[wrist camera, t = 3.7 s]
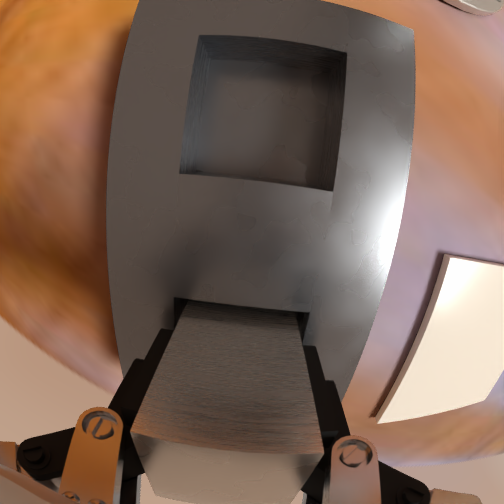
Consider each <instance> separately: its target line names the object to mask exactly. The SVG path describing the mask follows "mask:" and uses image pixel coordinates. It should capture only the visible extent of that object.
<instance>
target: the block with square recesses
mask: <svg viewBox="0 0 504 504" xmlns="http://www.w3.org/2000/svg"><path fill="white" fill-rule="evenodd" d="M414 112H415V45H414V31H413V30H412V29H410V28H407V27H405V26H403V25H400V24H398V23H395V22H392V21H390V20H387V19H384V18H381V17H379V16H376V15H373V14H370V13H366V12H363V11H360V10H357V9H353V8H349V7H346V6H342V5H338V4H334V3H330V2H325V1H321V0H139V3H138V6H137V9H136V12H135V15H134V19H133V22H132V25H131V29H130V33H129V36H128V40H127V44H126V48H125V52H124V56H123V61H122V65H121V70H120V75H119V80H118V86H117V91H116V97H115V104H114V110H113V118H112V125H111V134H110V144H109V155H108V170H107V193H106V237H107V260H108V275H109V287H110V297H111V306H112V314H113V322H114V329H115V335H116V341H117V347H118V353H119V358H120V363H121V368H122V373H123V378H124V377H125V375H126V373H127V372H128V370H129V368H130V366H131V364H132V363H133V361H134V360H135V359H136V358H139V359H143V360H144V359H145V357H146V355H147V353H148V351H149V349H150V347H151V345H152V344H153V342H154V340H155V338H156V336H157V334H158V332H159V331H160V329H161V328H163V329H169V330H175V328H176V326H177V324H178V321H179V319H180V317H181V315H182V313H183V311H184V309H185V307H186V304H187V302H188V300H189V299H192V300H200V301H207V302H215V303H223V304H231V305H239V306H248V307H257V308H267V309H277V310H288V311H295V315H296V320H297V324H298V328H299V333H300V337H301V342H302V345H312V346H316V348H317V352H318V355H319V359H320V362H321V366H322V370H323V373H324V377H325V380H333V381H334V382H335V385H336V388H337V391H338V394H339V398H340V401H341V402H342V399H343V397H344V395H345V393H346V391H347V388H348V386H349V384H350V382H351V379H352V377H353V374H354V372H355V370H356V367H357V365H358V362H359V360H360V357H361V355H362V352H363V349H364V347H365V344H366V341H367V339H368V336H369V333H370V330H371V327H372V324H373V322H374V319H375V316H376V313H377V309H378V306H379V303H380V300H381V297H382V293H383V290H384V287H385V283H386V279H387V276H388V272H389V268H390V265H391V261H392V257H393V253H394V249H395V244H396V240H397V236H398V231H399V226H400V221H401V216H402V211H403V206H404V200H405V194H406V188H407V182H408V175H409V167H410V159H411V150H412V140H413V128H414Z"/></svg>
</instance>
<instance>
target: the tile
mask: <svg viewBox="0 0 504 504" xmlns="http://www.w3.org/2000/svg"><path fill="white" fill-rule="evenodd" d="M503 370H504V264H499V263H493V262H488V261H482V260H477V259H471V258H465V257H459V256H454V255H448V254H444V257H443V261H442V264H441V268H440V271H439V275H438V278H437V281H436V284H435V287H434V290H433V293H432V296H431V299H430V302H429V305H428V308H427V310H426V313H425V316H424V318H423V321H422V323H421V326H420V328H419V331H418V333H417V336H416V338H415V340H414V343H413V345H412V347H411V350H410V352H409V354H408V356H407V358H406V361H405V363H404V365H403V367H402V369H401V371H400V373H399V375H398V377H397V379H396V381H395V383H394V385H393V387H392V388H391V390H390V392H389V394H388V396H387V398H386V399H385V401H384V403H383V405H382V407H381V408H380V410H379V412H378V413H377V415H376V417H375V419H376V422H377V424H378V423H386V422H393V421H400V420H406V419H412V418H417V417H422V416H427V415H432V414H436V413H441V412H445V411H449V410H453V409H456V408H460V407H464V406H467V405H471V404H474V403H477V402H480V401H483V400H485V398H486V397H487V395H488V394H489V392H490V391H491V389H492V388H493V386H494V385H495V383H496V381H497V380H498V378H499V376H500V375H501V373H502V371H503Z"/></svg>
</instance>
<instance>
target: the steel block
mask: <svg viewBox="0 0 504 504" xmlns="http://www.w3.org/2000/svg"><path fill="white" fill-rule="evenodd" d="M130 433H131V436H132V439H133V442H134V444H135V447H136V450H137V453H138V455H139V458H140V460H141V463H142V465H143V468H144V470H145V473H146V475H147V477H148V480H149V482H150V484H151V487H152V489H153V491H154V493H155V495H156V496H160V497H164V498H169V499H173V500H179V501H183V502H189V503H195V504H290V503H291V502H292V500H293V499H294V498H295V496H296V495H297V494H298V492H299V491H300V489H301V488H302V487H303V485H304V484H305V482H306V481H307V479H308V478H309V476H310V475H311V473H312V472H313V470H314V469H315V467H316V466H317V464H318V463H319V461H320V459H321V458H322V456H323V454H324V449H323V443H322V438H321V433H320V428H319V423H318V418H317V413H316V408H315V403H314V398H313V393H312V388H311V383H310V379H309V374H308V369H307V365H306V360H305V355H304V351H303V346H302V342H301V337H300V333H299V328H298V324H297V320H296V315H295V311H288V310H277V309H267V308H257V307H248V306H239V305H231V304H223V303H215V302H207V301H200V300H192V299H189V300H188V302H187V304H186V307H185V309H184V311H183V313H182V315H181V317H180V319H179V321H178V324H177V326H176V328H175V330H174V332H173V334H172V336H171V339H170V341H169V343H168V345H167V347H166V350H165V352H164V354H163V356H162V358H161V361H160V363H159V365H158V367H157V370H156V372H155V374H154V376H153V379H152V381H151V383H150V385H149V388H148V390H147V392H146V395H145V397H144V399H143V402H142V404H141V406H140V409H139V411H138V413H137V416H136V418H135V420H134V423H133V425H132V428H131V430H130Z"/></svg>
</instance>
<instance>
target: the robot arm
mask: <svg viewBox="0 0 504 504" xmlns="http://www.w3.org/2000/svg"><path fill="white" fill-rule="evenodd" d="M443 1H445V2H447V3H449V4H451V5H453V6H455V7H457V8H459V9H461V10H463V11H466V12H469V13H472V14H475V15H481V16H487V15H492V14H494V13H496V12H498V11H500V10H501V9H502V8H503V6H504V0H443ZM173 332H174V330H169V329H163V328H161V329H160V331H159V332H158V334H157V336H156V338H155V340H154V342H153V344H152V345H151V347H150V349H149V351H148V353H147V355H146V357H145V359H144V360H143V359H139V358H136V359H135V360H134V361H133V363H132V364H131V366H130V368H129V370H128V372H127V373H126V375H125V377H124V379H123V381H122V382H121V384H120V386H119V388H118V390H117V392H116V393H115V395H114V397H113V399H112V401H111V403H110V405H109V407H108V408H104V407H95V408H90V409H88V410H86V411H84V412H83V413H82V414H81V415H80V417H79V419H78V421H77V424H76V427H73V428H70V429H66V430H62V431H58V432H54V433H50V434H46V435H42V436H37V437H33V438H29V439H27V440H24V441H23V442H22V443H21V444H20V445H17V444H16V443H15V442H2V441H0V504H140V488H141V474H143V473H145V470H144V468H143V465H142V463H141V460H140V458H139V455H138V453H137V450H136V447H135V444H134V442H133V439H132V436H131V433H130V430H131V428H132V425H133V423H134V420H135V418H136V416H137V413H138V411H139V409H140V406H141V404H142V402H143V399H144V397H145V395H146V392H147V390H148V388H149V385H150V383H151V381H152V379H153V376H154V374H155V372H156V370H157V367H158V365H159V363H160V361H161V358H162V356H163V354H164V352H165V350H166V347H167V345H168V343H169V341H170V339H171V336H172V334H173ZM302 346H303V351H304V355H305V360H306V365H307V369H308V374H309V379H310V383H311V388H312V393H313V398H314V403H315V408H316V413H317V418H318V423H319V428H320V433H321V438H322V443H323V449H324V454H323V456H322V458H321V459H320V461H319V463H318V464H317V466H316V467H315V469H314V470H313V472H312V473H311V475H310V476H309V478H308V479H307V481H306V482H305V484H304V485H303V487H302V488H301V489H300V490H302V491H303V492H304V494H303V500H302V504H482V503H481V500H480V499H479V498H478V497H477V496H475V495H472V494H465V493H458V492H452V491H446V490H440V489H435V488H434V489H433V490H432V491H431V490H429V489H428V488H427V486H426V485H425V484H424V483H422V482H420V481H419V480H416V479H414V478H412V477H410V476H408V475H406V474H404V473H402V472H400V471H398V470H396V469H393V468H392V467H390V466H388V465H386V464H384V463H382V462H380V461H378V455H377V451H376V448H375V446H374V445H373V444H372V443H371V442H370V441H369V440H368V439H366V438H363V437H361V436H355V435H352V436H351V435H350V432H349V428H348V425H347V421H346V418H345V414H344V411H343V408H342V404H341V401H340V398H339V394H338V391H337V388H336V385H335V382H334V381H333V380H325V377H324V373H323V370H322V366H321V362H320V359H319V355H318V352H317V348H316V346H312V345H302Z"/></svg>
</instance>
